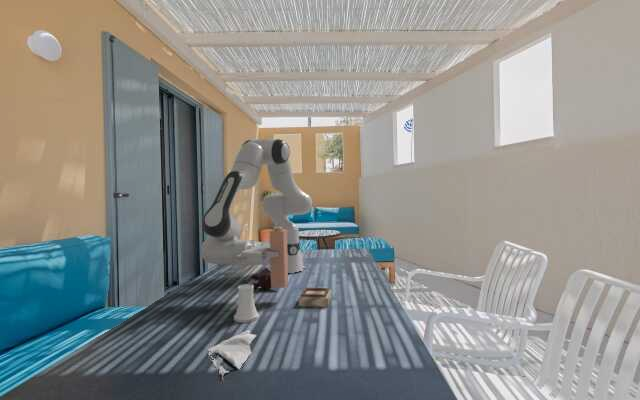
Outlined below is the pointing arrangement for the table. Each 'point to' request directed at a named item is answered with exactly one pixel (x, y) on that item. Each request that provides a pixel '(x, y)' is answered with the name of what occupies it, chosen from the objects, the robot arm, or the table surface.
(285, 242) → the pillar
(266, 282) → the icecream
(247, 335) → the cloth
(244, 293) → the vase
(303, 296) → the base
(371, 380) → the table surface
